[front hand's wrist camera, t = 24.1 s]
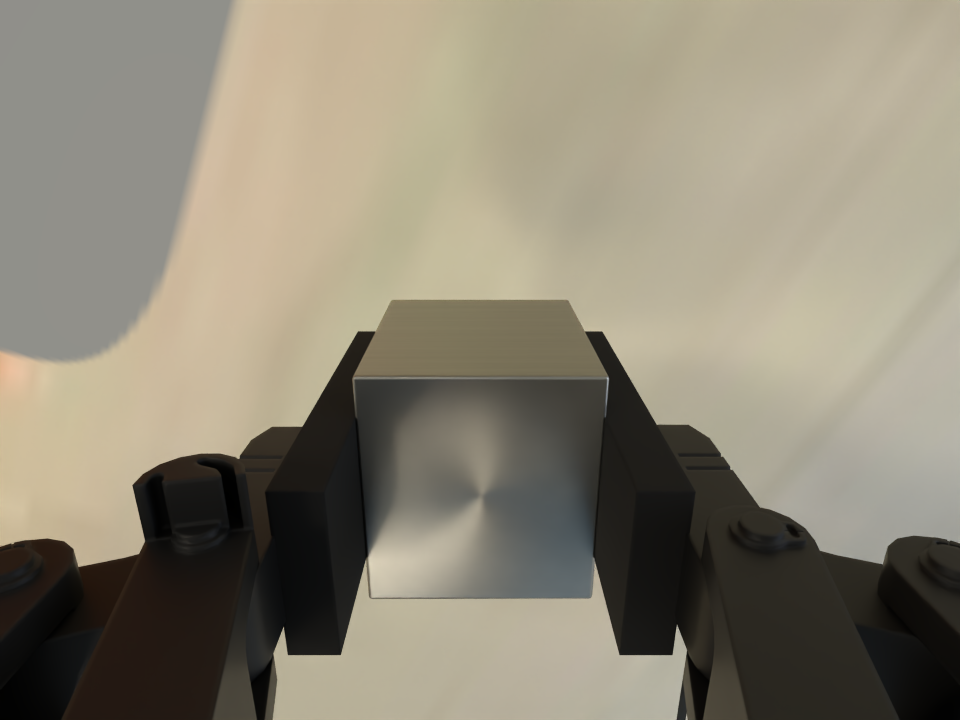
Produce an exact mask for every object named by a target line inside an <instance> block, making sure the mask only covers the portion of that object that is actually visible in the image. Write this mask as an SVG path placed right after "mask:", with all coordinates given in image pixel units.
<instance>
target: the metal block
mask: <svg viewBox="0 0 960 720" xmlns="http://www.w3.org/2000/svg"><path fill="white" fill-rule="evenodd" d="M352 380H353V393H354V406H355V417H356V430H357V443H358V456H359V469H360V482H361V495H362V509H363V522H364V535H365V548H366V564H367V578H368V591H369V597H370V598H371V599H507V598H591V596H592V590H593V577H594V564H595V559H594V555H595V542H596V529H597V516H598V503H599V490H600V477H601V464H602V451H603V438H604V425H605V417H606V410H607V398H608V385H609V377H608V375H607V373H606V371H605V369H604V367H603V365H602V364H601V362H600V360H599V358H598V356H597V354H596V352H595V350H594V348H593V346H592V345H591V343H590V341H589V339H588V337H587V335H586V333H585V331H584V329H583V327H582V326H581V324H580V322H579V320H578V318H577V316H576V314H575V312H574V310H573V308H572V307H571V305H570V303H569V301H568V300H392V301H391V303H390V304H389V306H388V308H387V310H386V312H385V314H384V316H383V318H382V320H381V322H380V324H379V326H378V328H377V330H376V332H375V334H374V336H373V338H372V340H371V342H370V344H369V346H368V348H367V350H366V352H365V354H364V356H363V358H362V360H361V362H360V364H359V366H358V368H357V370H356V372H355V374H354V376H353V378H352Z"/></svg>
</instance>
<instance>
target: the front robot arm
mask: <svg viewBox="0 0 960 720" xmlns="http://www.w3.org/2000/svg"><path fill="white" fill-rule="evenodd" d="M585 333H586V335H587V337H588V339H589V341H590V343H591V345H592V346H593V348H594V350H595V352H596V354H597V356H598V358H599V360H600V362H601V364H602V365H603V367H604V369H605V371H606V373H607V375H608V377H609V385H608V398H607V410H606V417H605V425H604V438H603V451H602V464H601V477H600V490H599V503H598V516H597V529H596V542H595V555H594V559H595V563H596V566H597V570H598V574H599V578H600V582H601V586H602V589H603V593H604V597H605V601H606V605H607V609H608V612H609V616H610V620H611V624H612V628H613V631H614V635H615V639H616V643H617V647H618V651H619V654H620V655H673V648H674V641H675V634H676V627H677V625H678V628H679V630H680V633H681V635H682V638H683V641H684V643H685V646H686V648H687V655H686V662H685V668H684V675H683V681H682V688H681V694H680V701H679V707H678V714H677V720H685V719H686V713H687V718H688V720H960V543H956V542H953V541H947V540H946V539H941V538H934V537H922V536H910V537H904V538H898V539H896V540H895V541H894V542H893V543H891V544H890V545H889V546H888V548H887V552H886V555H885V559H884V562H883V564H878V563H873V562H868V561H863V560H858V559H852V558H847V557H842V556H837V555H833V554H830V553H826V552H822V551H820V550H819V548H818V546H817V544H816V542H815V540H814V539H813V538H812V536H811V535H810V534H809V533H808V531H807V530H806V529H805V528H804V527H803V526H801V525H800V524H798V523H797V522H795V521H794V520H792V519H791V518H789V517H787V516H784V515H782V514H780V513H777V512H775V511H772V510H770V509H765V508H760V507H759V506H758V504H757V503H756V502H755V500H754V499H753V497H752V496H751V495H750V493H749V492H748V491H747V489H746V488H745V486H744V485H743V484H742V482H741V481H740V480H739V478H738V477H737V475H736V474H735V473H734V471H733V470H730V466H729V464H728V463H727V462H726V460H725V459H724V458H723V457H721V453H720V452H719V451H718V449H717V448H716V447H715V445H714V444H713V442H712V441H711V440H710V438H708V437H707V436H705V435H704V434H702V433H700V432H699V431H697V430H696V429H694V428H693V427H691V426H689V425H656V423H655V421H654V419H653V418H652V416H651V414H650V413H649V411H648V409H647V407H646V406H645V404H644V402H643V401H642V399H641V397H640V395H639V394H638V392H637V390H636V389H635V387H634V385H633V383H632V382H631V380H630V378H629V377H628V375H627V373H626V371H625V370H624V368H623V366H622V365H621V363H620V361H619V359H618V358H617V356H616V354H615V353H614V351H613V349H612V347H611V346H610V344H609V342H608V341H607V339H606V337H605V335H604V334H603V332H585ZM374 334H375V332H358V333H357V334H356V336H355V338H354V339H353V341H352V343H351V345H350V346H349V348H348V350H347V351H346V353H345V355H344V357H343V358H342V360H341V362H340V363H339V365H338V367H337V369H336V370H335V372H334V374H333V375H332V377H331V379H330V381H329V382H328V384H327V386H326V387H325V389H324V391H323V393H322V394H321V396H320V398H319V399H318V401H317V403H316V405H315V406H314V408H313V410H312V411H311V413H310V415H309V417H308V418H307V420H306V422H305V423H304V425H303V427H271V428H270V429H268V430H267V431H265V432H263V433H262V434H260V435H259V436H257V437H256V438H254V439H252V440H251V441H250V443H249V444H248V445H247V447H246V448H245V450H244V451H243V452H242V454H241V455H240V459H237V458H236V457H232V456H228V455H223V454H197V455H191V456H186V457H180V458H177V459H174V460H171V461H169V462H166V463H163V464H160V465H158V466H156V467H155V468H153V469H151V470H149V471H148V472H146V473H144V474H143V475H142V476H141V477H140V478H139V479H138V480H137V481H136V482H135V483H134V484H133V490H134V494H135V498H136V503H137V507H138V511H139V516H140V520H141V525H142V529H143V533H144V538H145V543H144V545H143V547H142V549H141V551H140V554H138V555H134V556H130V557H126V558H122V559H117V560H112V561H107V562H102V563H97V564H92V565H87V566H82V567H78V564H77V561H76V557H75V553H74V550H73V548H71V547H70V546H69V545H68V544H67V543H65V542H64V541H58V540H53V539H38V540H25V541H20V542H15V543H14V544H8V545H5V546H1V547H0V720H273V711H274V703H275V694H276V685H277V675H276V668H275V662H274V655H273V653H274V650H275V647H276V645H277V642H278V640H279V637H280V635H281V632H282V629H283V627H284V631H285V638H286V645H287V652H288V655H341V652H342V648H343V644H344V641H345V637H346V633H347V629H348V625H349V622H350V618H351V614H352V610H353V606H354V602H355V599H356V595H357V591H358V587H359V583H360V579H361V576H362V572H363V568H364V564H365V560H366V548H365V535H364V522H363V509H362V495H361V482H360V469H359V456H358V443H357V430H356V417H355V406H354V393H353V380H352V378H353V376H354V374H355V372H356V370H357V368H358V366H359V364H360V362H361V360H362V358H363V356H364V354H365V352H366V350H367V348H368V346H369V344H370V342H371V340H372V338H373V336H374Z"/></svg>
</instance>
